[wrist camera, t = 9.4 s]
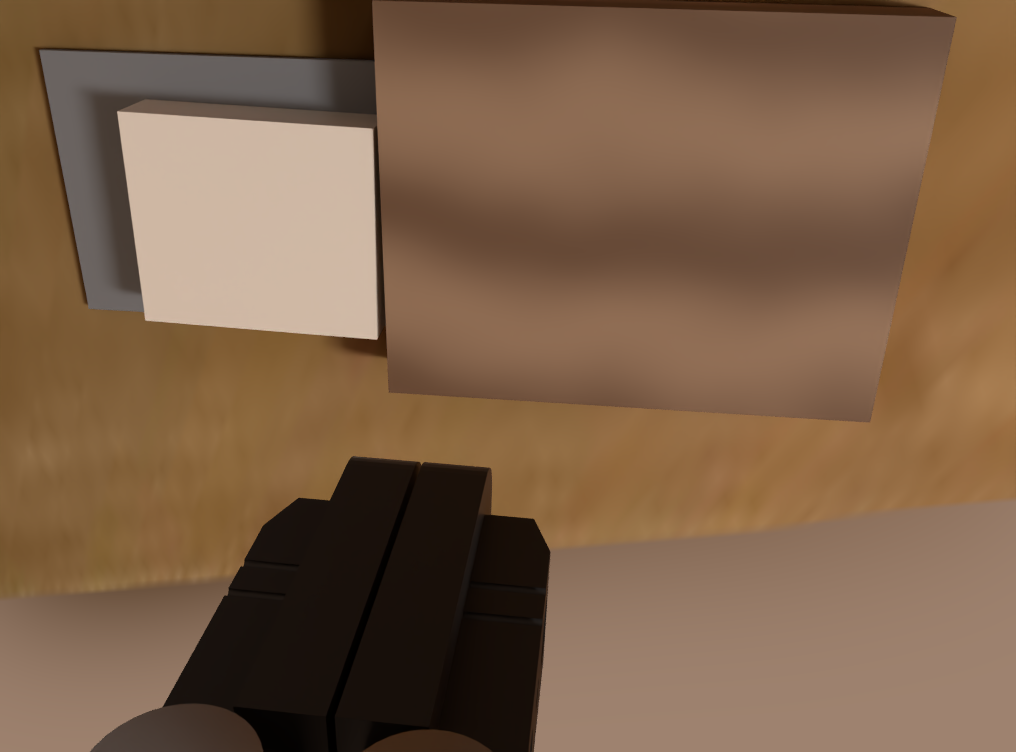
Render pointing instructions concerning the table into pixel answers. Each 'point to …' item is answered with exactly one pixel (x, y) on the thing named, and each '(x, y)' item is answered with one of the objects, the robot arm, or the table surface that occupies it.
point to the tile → (256, 216)
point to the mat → (171, 77)
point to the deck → (650, 198)
